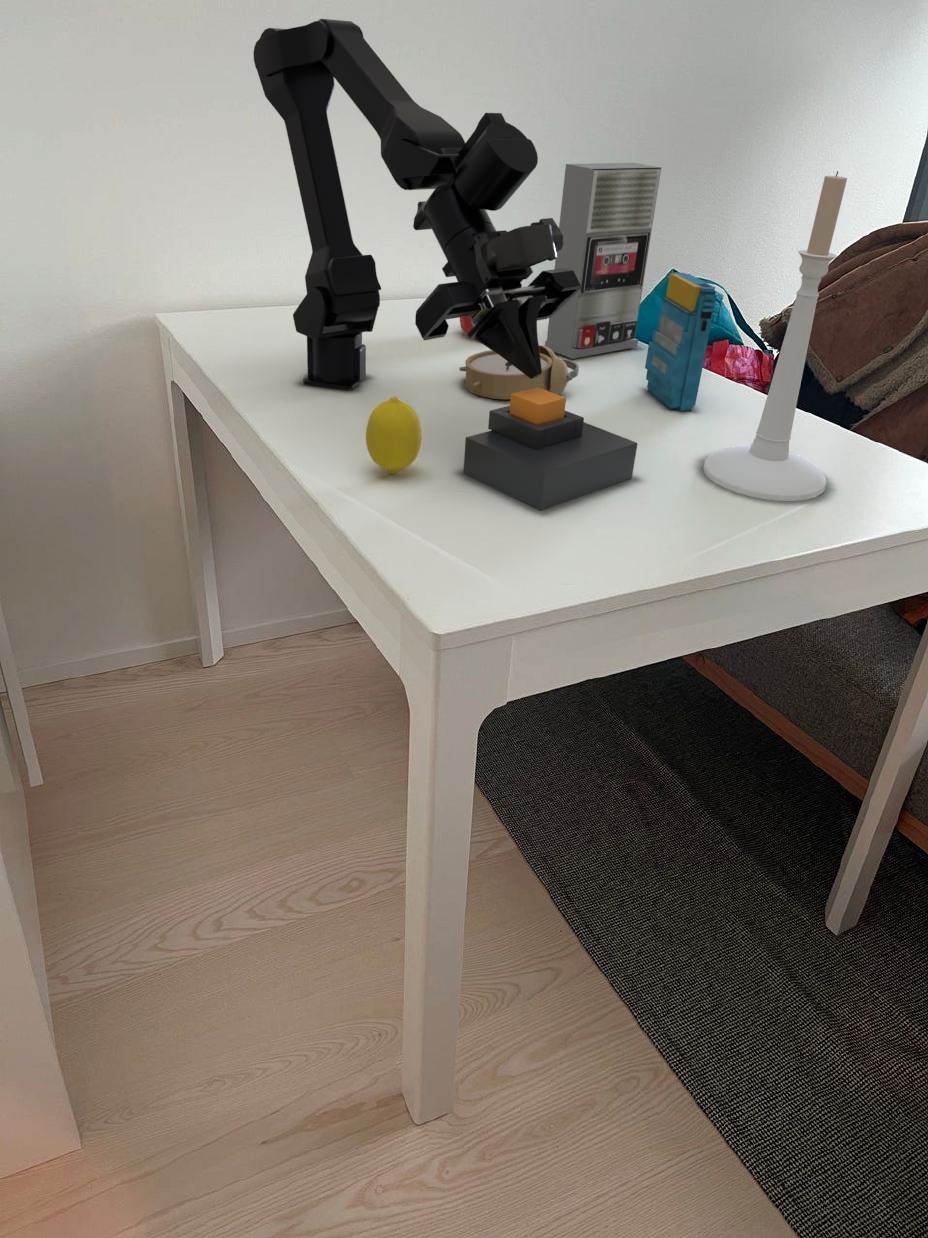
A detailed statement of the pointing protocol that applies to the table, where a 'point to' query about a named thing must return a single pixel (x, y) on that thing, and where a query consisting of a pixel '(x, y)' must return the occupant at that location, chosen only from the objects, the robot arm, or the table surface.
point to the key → (537, 405)
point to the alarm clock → (515, 374)
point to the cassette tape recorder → (603, 255)
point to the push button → (547, 458)
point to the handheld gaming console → (680, 342)
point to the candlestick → (785, 385)
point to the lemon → (393, 435)
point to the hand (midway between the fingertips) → (536, 376)
